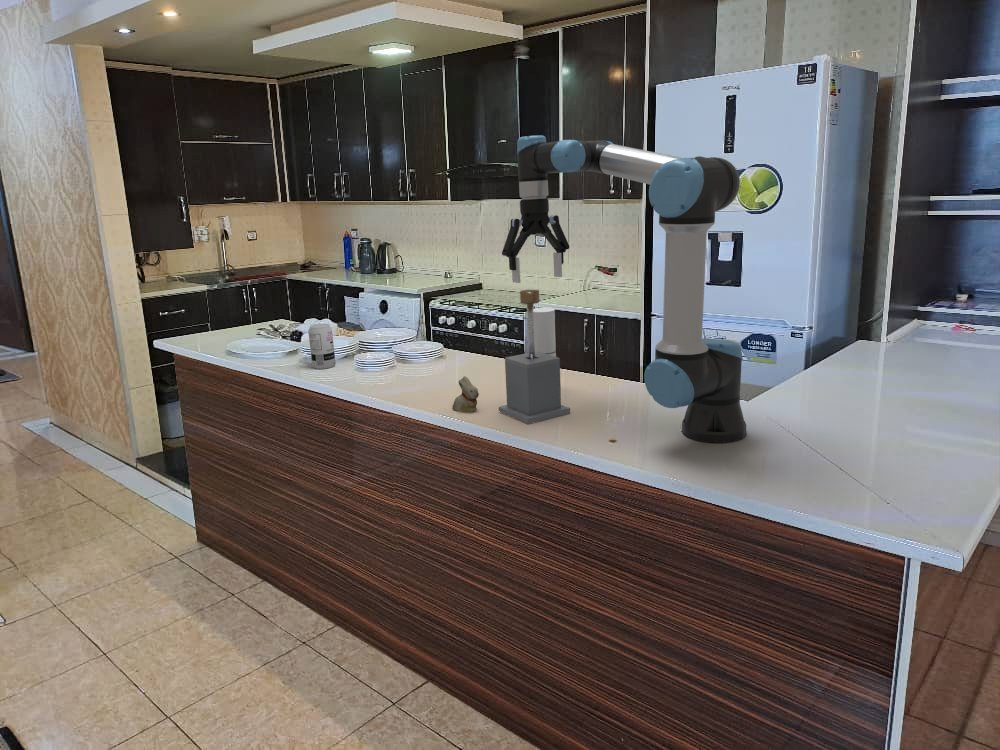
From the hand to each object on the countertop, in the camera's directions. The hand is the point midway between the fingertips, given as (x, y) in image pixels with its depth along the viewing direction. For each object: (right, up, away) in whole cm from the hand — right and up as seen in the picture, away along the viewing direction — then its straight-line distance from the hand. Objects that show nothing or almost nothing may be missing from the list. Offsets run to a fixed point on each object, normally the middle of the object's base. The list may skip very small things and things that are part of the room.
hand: (537, 279), depth 197 cm
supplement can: (-74, -23, +68) cm, 103 cm away
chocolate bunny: (-20, -36, +10) cm, 42 cm away
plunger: (-1, -23, +1) cm, 23 cm away
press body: (-1, -36, +5) cm, 36 cm away
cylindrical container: (+3, -31, +23) cm, 39 cm away
